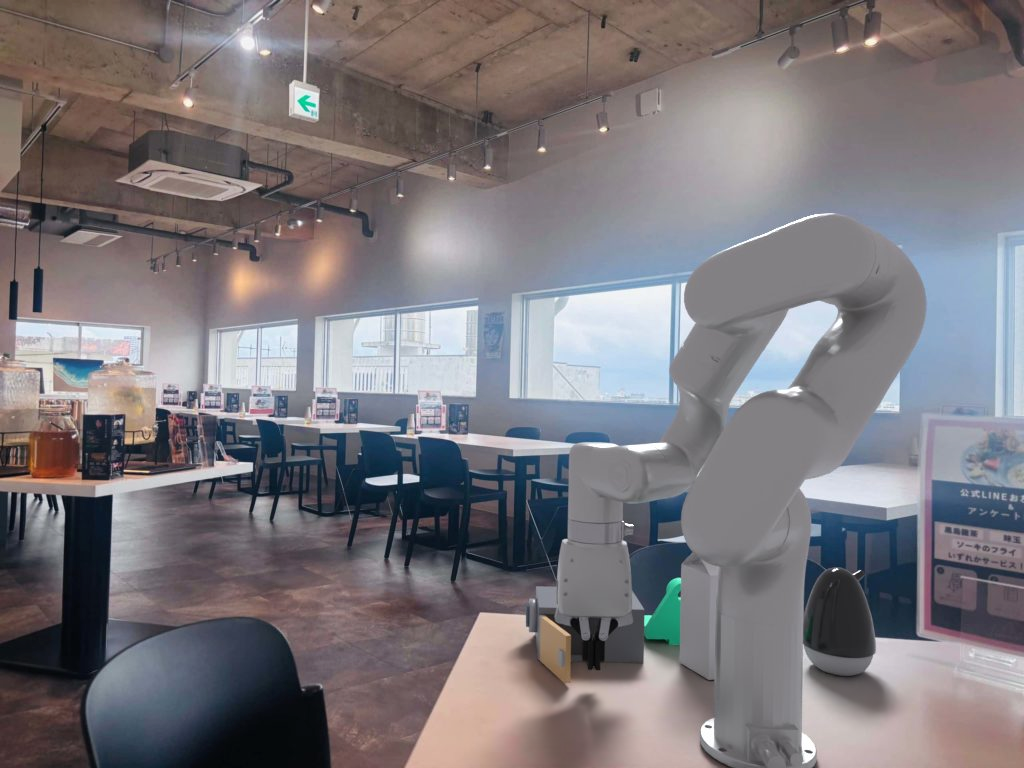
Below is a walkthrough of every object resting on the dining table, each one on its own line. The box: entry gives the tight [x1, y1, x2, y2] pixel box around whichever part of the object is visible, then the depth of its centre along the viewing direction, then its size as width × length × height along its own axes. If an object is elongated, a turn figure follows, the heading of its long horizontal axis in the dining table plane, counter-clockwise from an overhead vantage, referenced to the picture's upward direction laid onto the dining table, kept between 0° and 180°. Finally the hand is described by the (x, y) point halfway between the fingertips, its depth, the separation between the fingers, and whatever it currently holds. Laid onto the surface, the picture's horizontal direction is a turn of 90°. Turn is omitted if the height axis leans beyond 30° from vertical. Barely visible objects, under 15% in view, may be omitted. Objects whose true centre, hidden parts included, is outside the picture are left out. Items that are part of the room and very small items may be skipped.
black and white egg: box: [803, 566, 877, 677], centre depth 106 cm, size 10×10×15 cm
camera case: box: [525, 585, 645, 664], centre depth 112 cm, size 12×18×9 cm
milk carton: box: [679, 551, 719, 681], centre depth 105 cm, size 7×7×19 cm
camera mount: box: [644, 577, 681, 646], centre depth 119 cm, size 12×8×10 cm, turn 92°
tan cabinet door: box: [537, 615, 572, 684], centre depth 101 cm, size 1×10×6 cm, turn 20°
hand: (592, 666), depth 97 cm, fingers closed
